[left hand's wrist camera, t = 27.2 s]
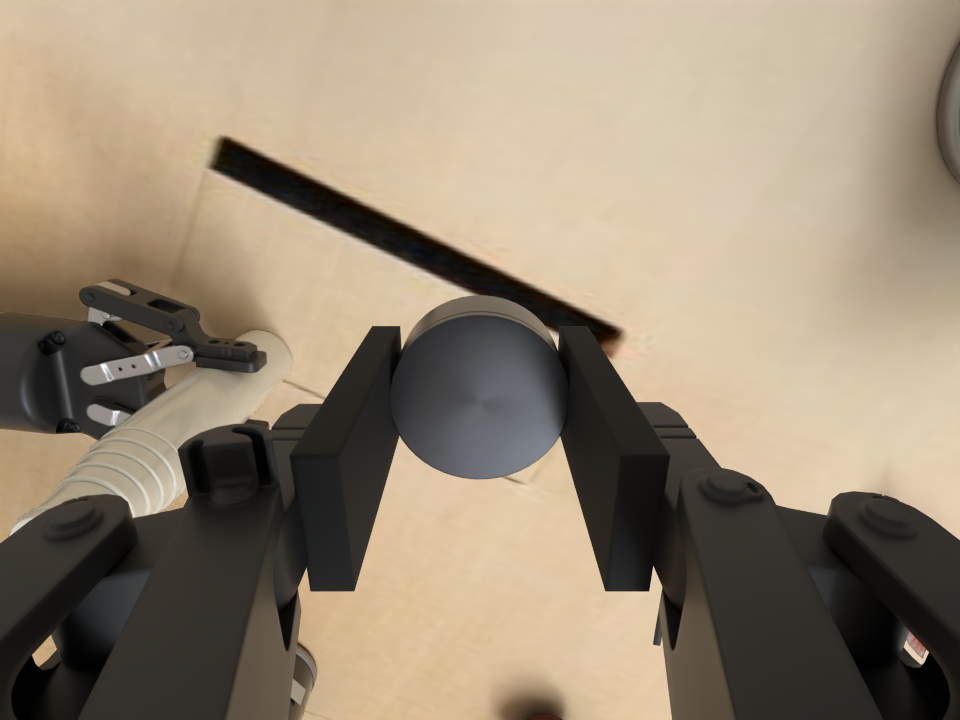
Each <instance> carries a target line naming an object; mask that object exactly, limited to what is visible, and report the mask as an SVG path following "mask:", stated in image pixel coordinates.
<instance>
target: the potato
mask: <svg viewBox="0 0 960 720" xmlns="http://www.w3.org/2000/svg"><path fill="white" fill-rule="evenodd" d="M528 720H562V719H560V718H558V717H557V716H555V715H550V714H541V715H535V716H533V717H531V718H530V719H528Z"/></svg>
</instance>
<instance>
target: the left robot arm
mask: <svg viewBox="0 0 960 720" xmlns="http://www.w3.org/2000/svg"><path fill="white" fill-rule="evenodd" d="M937 126H938V138H939V144H940V148H941V152H942V155H943V158H944V160H945V163H946V165H947V166H948V168H949V170H950V172H951V173H952V175H953V176H954V178H955V179H956V180H957V181H958V182H959V183H960V44H959V46H958V48H957V50H956V52H955V54H954V56H953V58H952V60H951V63H950V65H949V67H948V70H947V73H946V76H945V79H944V82H943V86H942V90H941V94H940V100H939V105H938V117H937ZM558 353H559V355H560V358H561V360H562V363H563V365H564V367H565V370H566V372H567V376H568V380H569V384H570V387H569V402H568V416H567V421H566V424H565V427H564V429H563V431H562V433H561V435H560V437H561V440H562V443H563V447H564V450H565V454H566V457H567V461H568V464H569V468H570V471H571V474H572V478H573V481H574V485H575V488H576V492H577V495H578V499H579V502H580V505H581V509H582V512H583V516H584V519H585V523H586V526H587V530H588V533H589V537H590V540H591V543H592V547H593V550H594V554H595V557H596V561H597V564H598V568H599V571H600V574H601V578H602V581H603V585H604V588H605V591H649V589H650V582H651V576H652V570H653V566H654V568H655V570H656V573H657V575H658V577H659V580H660V582H661V584H662V593H661V599H660V605H659V611H658V617H657V623H656V629H655V635H654V642H653V645H659V646H660V643H661V638H662V640H663V648H664V656H665V664H666V673H667V681H668V689H669V697H670V705H671V713H672V720H960V540H959V539H957V538H956V537H955V536H953V535H952V534H951V533H950V532H948V531H947V530H946V529H944V528H943V527H942V526H941V525H939V524H938V523H937V522H935V521H934V520H933V519H931V518H930V517H928V516H927V515H925V514H923V513H922V512H920V511H919V510H917V509H915V508H914V507H911V506H909V505H907V504H904V503H902V502H900V501H898V500H897V499H895V498H892V497H888V496H885V495H884V496H882V495H881V494H876V493H866V492H855V491H853V492H846V493H840V494H838V495H837V496H836V497H835V498H833V499H832V501H831V505H830V508H829V511H828V515H821V514H816V513H811V512H806V511H801V510H795V509H790V508H786V507H782V506H778V505H776V504H775V502H774V500H773V498H772V496H771V495H770V493H769V492H768V491H767V490H766V489H765V487H764V486H763V485H761V484H760V483H758V482H757V481H755V480H754V479H752V478H751V477H749V476H746V475H744V474H741V473H739V472H736V471H734V470H729V469H724V468H721V467H720V466H719V464H718V463H717V462H716V460H715V459H714V458H713V457H712V455H711V454H710V453H709V452H708V450H707V449H706V448H705V446H704V445H703V444H702V443H701V441H700V440H699V439H697V438H696V435H695V434H694V432H693V431H692V430H691V428H688V425H687V423H686V422H685V421H684V420H683V418H682V417H681V416H680V414H679V413H678V412H676V411H674V410H673V409H671V408H669V407H668V406H666V405H664V404H663V403H661V402H636V401H635V400H634V398H633V397H632V395H631V393H630V392H629V390H628V389H627V387H626V386H625V384H624V383H623V381H622V379H621V378H620V376H619V375H618V373H617V372H616V370H615V369H614V367H613V365H612V364H611V362H610V361H609V359H608V358H607V356H606V355H605V353H604V351H603V350H602V348H601V347H600V345H599V344H598V342H597V341H596V339H595V337H594V336H593V334H592V333H591V331H590V330H589V328H588V327H587V326H560V328H559V345H558ZM400 354H401V334H400V326H372V328H371V329H370V331H369V332H368V334H367V335H366V337H365V338H364V340H363V342H362V343H361V345H360V346H359V348H358V349H357V351H356V352H355V354H354V356H353V357H352V359H351V360H350V362H349V363H348V365H347V366H346V368H345V370H344V371H343V373H342V374H341V376H340V377H339V379H338V380H337V382H336V384H335V385H334V387H333V388H332V390H331V391H330V393H329V394H328V396H327V397H326V399H325V401H324V402H323V404H298V405H297V406H295V407H293V408H292V409H290V410H289V411H287V412H285V413H284V414H282V415H281V416H280V417H279V419H278V420H277V421H276V423H275V424H274V425H273V426H272V430H268V429H267V428H265V427H264V426H260V425H256V424H251V423H250V424H230V425H225V426H219V427H215V428H212V429H209V430H207V431H204V432H201V433H199V434H197V435H195V436H193V437H191V438H190V439H188V440H186V441H185V442H184V443H183V444H182V445H181V446H180V447H179V448H178V449H177V451H178V455H179V459H180V463H181V467H182V471H183V475H184V479H185V483H186V487H187V491H188V495H189V497H188V499H187V501H186V503H185V505H184V507H183V508H179V509H176V510H171V511H166V512H161V513H156V514H151V515H146V516H140V517H135V518H133V516H132V513H131V509H130V506H129V503H128V501H126V500H125V499H124V498H123V497H121V496H118V495H111V494H99V495H87V496H82V497H78V498H77V499H76V498H74V499H70V500H67V501H65V502H63V503H61V504H59V505H57V506H55V507H52V508H50V509H48V510H46V511H44V512H43V513H41V514H39V515H38V516H36V517H35V518H33V519H32V520H30V521H28V522H27V523H26V524H25V525H23V526H22V527H21V528H20V529H18V530H17V531H16V532H14V533H13V534H12V535H11V536H9V537H8V538H7V539H6V540H4V541H3V542H2V543H0V720H288V715H289V706H290V698H291V690H292V682H293V674H294V666H295V658H296V649H297V641H298V633H299V625H300V617H301V606H300V599H299V593H298V586H299V584H300V581H301V579H302V577H303V574H304V572H305V570H306V567H307V572H308V578H309V585H310V591H354V590H355V587H356V584H357V580H358V577H359V573H360V570H361V566H362V563H363V559H364V556H365V553H366V549H367V546H368V542H369V539H370V535H371V532H372V528H373V525H374V522H375V518H376V515H377V511H378V508H379V504H380V501H381V497H382V494H383V491H384V487H385V484H386V480H387V477H388V473H389V470H390V466H391V463H392V460H393V456H394V453H395V449H396V446H397V442H398V439H399V433H398V432H397V430H396V427H395V425H394V422H393V420H392V407H391V393H390V382H391V377H392V374H393V372H394V369H395V366H396V364H397V361H398V359H399V356H400ZM909 632H911V633H912V634H913V636H914V637H915V638H916V639H917V640H918V641H919V642H920V643H921V644H922V645H923V646H924V647H925V648H926V649H927V651H928V652H929V654H928V656H927V658H926V660H925V662H924V664H923V665H921V664H919V663H918V662H917V661H916V660H915V659H914V658H913V657H912V656H911V655H910V654H909V653H908V652H907V651H906V650H905V649H904V644H905V642H906V639H907V637H908V635H909ZM50 635H51V636H52V638H53V641H54V643H55V645H56V648H57V650H56V651H55V652H54V653H53V655H52V656H51V657H50V658H49V659H48V660H47V661H46V662H44V663H43V664H42V665H41V666H39V667H38V666H37V665H36V664H35V662H34V659H33V657H32V654H33V653H34V652H35V651H36V650H37V649H38V648H39V647H40V646H41V644H42V643H43V642H44V641H45V640H46V639H47V638H48V637H49V636H50Z"/></svg>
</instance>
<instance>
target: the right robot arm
mask: <svg viewBox="0 0 960 720" xmlns="http://www.w3.org/2000/svg"><path fill="white" fill-rule="evenodd" d="M79 297H80V300H81V301H82V302H83V303H84V304H85V305H86V306H89V309H88V317H87V321H85V322H79V321H75V320H66V319H58V318H49V317H41V316H33V315H24V314H16V313H7V312H0V429H10V430H19V431H28V432H37V433H46V434H64V433H83V434H86V435H89V436H91V437H93V438H94V439H96V440H100V439H101V438H102V437H103V436H104V435H105V434H106V433H108V432H109V431H110V430H112V429H113V428H114V427H116V426H117V425H119V424H120V423H121V422H123V421H124V420H125V419H127V418H128V417H130V416H131V415H132V414H134V413H135V412H136V411H138V410H139V409H141V408H142V407H143V406H145V405H146V404H147V403H149V402H150V401H152V400H153V399H154V398H156V397H157V396H158V395H160V394H161V393H163V392H164V391H165V390H167V389H166V386H165V384H164V375H165V368H167V367H172V366H177V365H182V364H187V363H190V362H191V361H195V362H196V367H201V368H212V369H218V370H227V371H235V372H244V373H255V372H258V371H259V370H260V369H262V368H263V367H264V366H265V365H266V364H267V353H266V352H264V351H259V350H257V345H255V344H253V343H251V342H246V341H237V340H229V339H220V338H213V337H209V336H207V335H206V334H205V333H204V332H203V331H202V329H201V327H200V325H199V322H198V321H199V320H200V314H199V312H198V310H197V309H196V308H194V307H192V306H189V305H186V304H183V303H181V302H178V301H175V300H172V299H170V298H167V297H164V296H162V295H159V294H156V293H153V292H151V291H148V290H145V289H142V288H140V287H137V286H134V285H132V284H129V283H126V282H123V281H121V280H118V279H110V280H107V281H104V282H101V283H98V284H95V285H92V286H88V287H85V288H83V289H81V290H80V293H79ZM122 319H125V320H128V321H131V322H133V323H136V324H139V325H142V326H145V327H147V328H150V329H153V330H156V331H159V332H161V333H164V334H167V335H170V336H171V338H167V339H162V340H157V341H152V342H148V343H143V342H141V341H140V340H138V339H137V338H136V337H134V336H133V335H131V334H130V333H129V332H127V331H126V330H125V329H123V328H122V327H120V326H119V325H118V324H116V323H115V322H113V321H120V320H122ZM250 423H251V424H256V425H260V426H264V427H265V428H267V429H268V430H269V423H268V422H266V421H260V420H252V419H248V420H247V421H246V423H245V424H250ZM316 676H317V669H316V665H315V663H314V660H313V659H312V657H311V656H310V655H309V653H308V652H307V651H306V650H304V649H303V648H302V647H301V646H299V645H298V644H297V649H296V658H295V666H294V674H293V682H292V690H291V698H290V706H289V715H288V720H302V717H303V714H304V711H305V708H306V705H307V702H308V699H309V695H310V693H311V691H312V689H313V687H314V683H315V680H316Z"/></svg>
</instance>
